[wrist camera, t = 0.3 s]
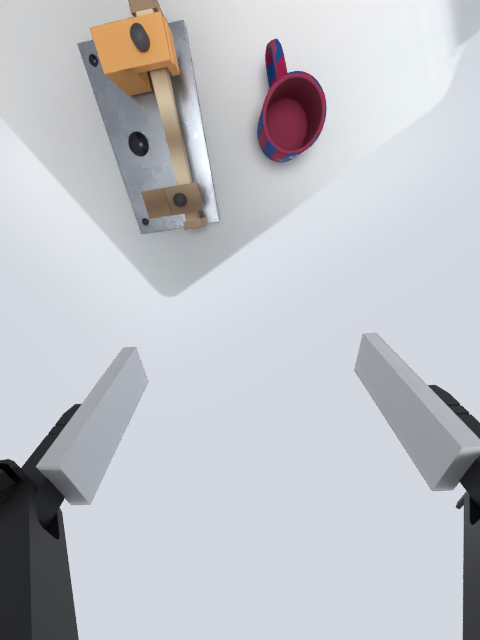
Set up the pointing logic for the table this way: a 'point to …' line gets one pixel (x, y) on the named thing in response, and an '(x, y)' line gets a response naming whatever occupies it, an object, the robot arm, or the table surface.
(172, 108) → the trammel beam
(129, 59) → the slider leg
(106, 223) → the table surface
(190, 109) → the flange plate
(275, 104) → the mug
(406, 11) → the table surface
